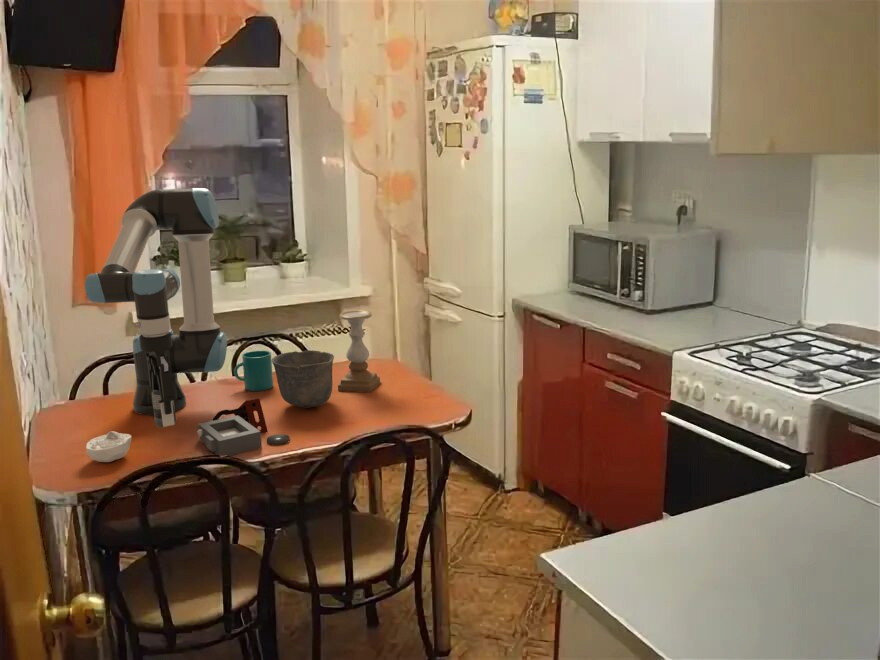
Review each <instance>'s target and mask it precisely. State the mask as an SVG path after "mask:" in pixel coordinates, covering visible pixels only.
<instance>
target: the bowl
mask: <svg viewBox="0 0 880 660" xmlns="http://www.w3.org/2000/svg"><path fill="white" fill-rule="evenodd" d="M334 358H335V355H334V354H333V353H330V352H325V351H320V350H308V349H307V350H303V351H296V350H295V351H290V352H289V351H288V352H284V353H280V354H278V355H275V356H273V357H271V359H272V366H273V367H274V371H275V375H276V376H275V377H276V379H277V381H276V382H277V384H278V389H279V390H278V391H279V392H280V396H281V397H282V399H283V401H285V402H286V403H287V404H289V405H292V406H295V407H298V408H305V409H306V408H316V407H319V406H322V405H324V404H325V403H327V402H328V401H329V400H330V398H331V395H332V392H333V362H334Z"/></svg>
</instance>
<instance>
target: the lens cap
mask: <svg viewBox="0 0 880 660" xmlns="http://www.w3.org/2000/svg"><path fill="white" fill-rule="evenodd" d="M290 438H291V436H290V435H288V434H283V433H278V434H272V435H269V436H267V438H266V443H267V444H268V445H270V444H271V446H281V445H280V444H282V445H285V443H286V444H287V442H288V441H289V442H290V441H291V439H290ZM289 442H288V443H289ZM272 444H273V445H272Z"/></svg>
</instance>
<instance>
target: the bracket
mask: <svg viewBox="0 0 880 660" xmlns="http://www.w3.org/2000/svg"><path fill="white" fill-rule="evenodd" d="M254 412H256V413H257V417H258V420H259V421H256V417H255V413H254ZM230 415H234V416H237V415H238V416H239V417H241V418H242V419H247V420H248V423H249V424H251V425H252V426H253V427H255V428H256V429H258V430H259V431H260V432H261V435H263V434H267V433H268V432H269V431H268V427H267V422H266V419H265V415H264V411H263V407H262V403H261V399H260V398H259V397H257V398H252V399H246V400H245V401H244V402H242V404H241V405H240V406H238V407H237V408H234V409H223V410H220V411H218V412H217V413H216V414H215V416H213V417H212V419H211V420H212V421H214V420H219V419H221V417H222V416H230ZM258 427H260V429H259V428H258ZM266 432H267V433H266ZM262 433H263V434H262Z"/></svg>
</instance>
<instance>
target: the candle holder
mask: <svg viewBox="0 0 880 660" xmlns="http://www.w3.org/2000/svg"><path fill="white" fill-rule="evenodd" d="M372 316H373V313H372V312H371V311H368V310H348V311H343V312H341V313H340V314H339V318H340V319H341V320H343V321H344V320H345V321H347V323H348V324H349V325H350V330H349V332H348V336H349V337H350V338H351V342H350V345H349V347H348V349H347V351H346V354H345V355H346V359H347V360H348V361H349V362H350V363H349V364H348V369H349V370H350V371H348V372H347V373H346V375H344V376H343V377H342V378H341V379H340V382H339V383H338V385H337V391H339V392H351V393H352V392H354V393H372V391H374V390H375V389H376V388H377V387H378V386H379V385H380V383H381V377H380V376H378V374H377V373H376V372H370V371H369V370H367V369H368V367H369V364H368V363H367V362H366V361H367V360H368V359H369V358H370V351H369V349H368V348H367V346H366V345H365V344H364V341H363V338H364V335H366V332H365V331H364V329H363V324H364V322H365V320H367V319H370V318H372Z"/></svg>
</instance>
